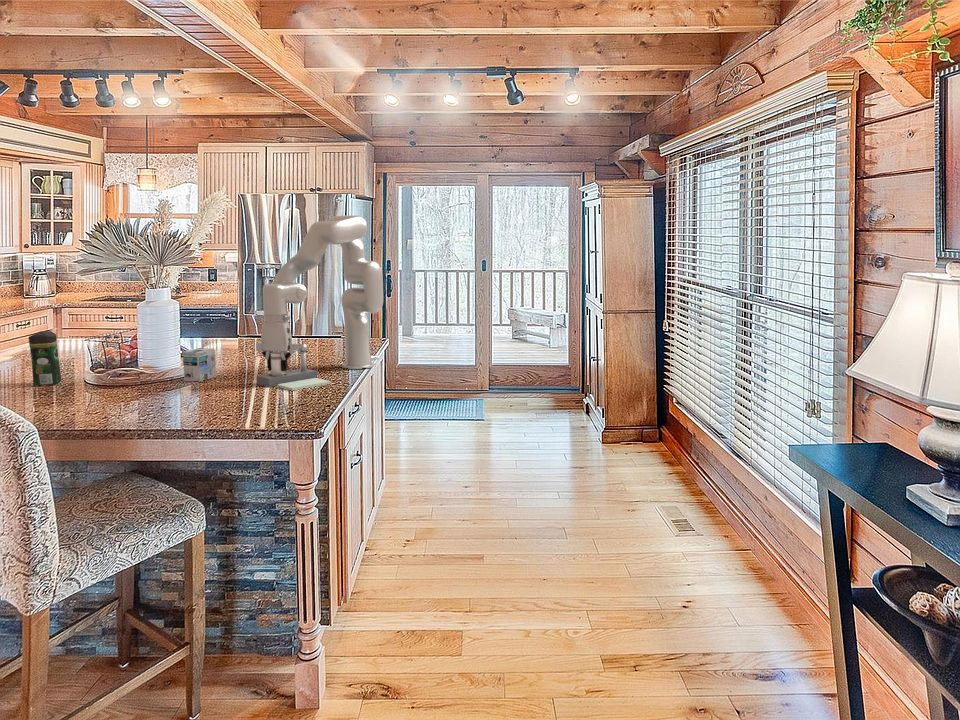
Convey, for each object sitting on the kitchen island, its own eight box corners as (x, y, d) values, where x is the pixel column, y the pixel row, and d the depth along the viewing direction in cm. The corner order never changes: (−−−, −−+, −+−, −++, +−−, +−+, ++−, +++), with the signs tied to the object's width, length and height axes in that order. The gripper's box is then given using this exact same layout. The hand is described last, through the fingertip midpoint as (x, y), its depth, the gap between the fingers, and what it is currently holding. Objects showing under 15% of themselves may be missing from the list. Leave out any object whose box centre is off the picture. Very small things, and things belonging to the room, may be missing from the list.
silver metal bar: (308, 350, 263) (307, 344, 263) (304, 351, 261) (304, 345, 260) (259, 348, 267) (259, 342, 267) (255, 349, 264) (255, 343, 264)
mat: (315, 380, 261) (315, 377, 261) (331, 384, 255) (330, 381, 255) (277, 387, 249) (277, 384, 249) (292, 391, 243) (292, 388, 243)
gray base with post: (304, 376, 269) (303, 349, 267) (317, 379, 264) (316, 351, 262) (256, 384, 254) (255, 355, 252) (269, 387, 249) (267, 358, 247)
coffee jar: (38, 381, 256) (33, 330, 252) (63, 380, 258) (58, 329, 255) (30, 387, 246) (24, 333, 243) (56, 386, 249) (51, 333, 245)
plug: (280, 378, 259) (278, 351, 257) (287, 380, 256) (286, 352, 254) (269, 380, 256) (267, 352, 254) (276, 382, 253) (274, 354, 251)
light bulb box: (200, 382, 257) (198, 352, 255) (183, 381, 258) (181, 351, 256) (217, 376, 267) (215, 348, 265) (200, 375, 268) (198, 347, 267)
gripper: (302, 318, 254) (304, 369, 257) (258, 317, 257) (261, 367, 261) (292, 321, 247) (294, 373, 250) (247, 319, 250) (250, 371, 253)
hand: (277, 369), depth 255 cm, fingers closed on plug, 4 cm apart
